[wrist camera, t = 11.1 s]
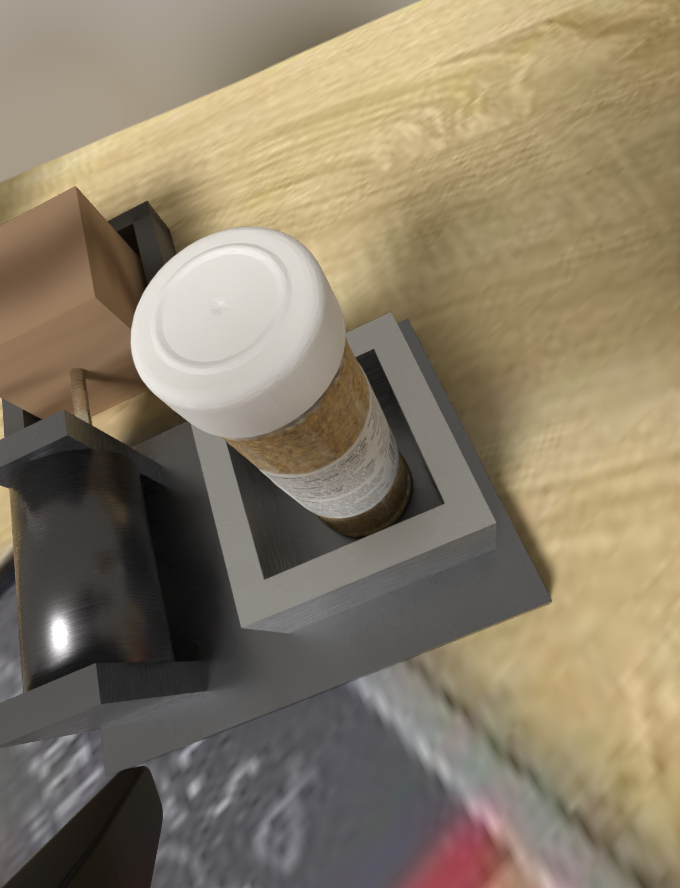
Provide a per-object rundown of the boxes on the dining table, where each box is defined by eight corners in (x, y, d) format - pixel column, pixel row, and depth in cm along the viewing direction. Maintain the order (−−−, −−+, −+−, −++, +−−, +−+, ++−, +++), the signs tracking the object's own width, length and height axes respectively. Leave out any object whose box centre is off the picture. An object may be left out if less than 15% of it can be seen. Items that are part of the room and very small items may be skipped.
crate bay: (219, 409, 28) (139, 337, 22) (43, 491, 29) (-82, 445, 23) (169, 229, 34) (95, 132, 28) (25, 303, 35) (-78, 225, 29)
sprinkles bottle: (313, 444, 25) (137, 238, 12) (412, 434, 23) (323, 197, 11) (311, 544, 23) (105, 416, 11) (418, 538, 22) (321, 387, 10)
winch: (549, 603, 20) (577, 577, 14) (121, 771, 22) (-39, 820, 16) (376, 262, 29) (339, 141, 22) (72, 407, 31) (-47, 337, 24)
